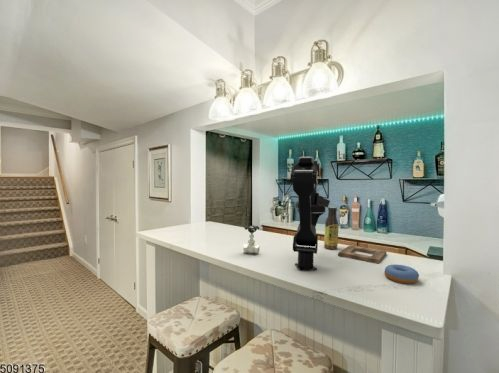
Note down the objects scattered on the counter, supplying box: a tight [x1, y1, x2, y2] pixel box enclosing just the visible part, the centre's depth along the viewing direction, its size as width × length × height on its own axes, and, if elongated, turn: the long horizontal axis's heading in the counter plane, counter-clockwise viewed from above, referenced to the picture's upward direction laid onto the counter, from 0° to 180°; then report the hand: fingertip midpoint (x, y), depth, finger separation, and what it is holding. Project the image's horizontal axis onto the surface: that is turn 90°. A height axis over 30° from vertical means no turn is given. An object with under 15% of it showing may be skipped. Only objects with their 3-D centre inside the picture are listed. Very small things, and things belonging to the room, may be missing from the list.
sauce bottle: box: [323, 206, 340, 250], centre depth 124 cm, size 7×6×20 cm
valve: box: [243, 224, 260, 255], centre depth 113 cm, size 7×7×12 cm
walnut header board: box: [337, 244, 387, 264], centre depth 113 cm, size 16×16×2 cm
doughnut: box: [384, 264, 420, 284], centre depth 86 cm, size 10×10×5 cm
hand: (309, 226), depth 108 cm, fingers open, 9 cm apart
